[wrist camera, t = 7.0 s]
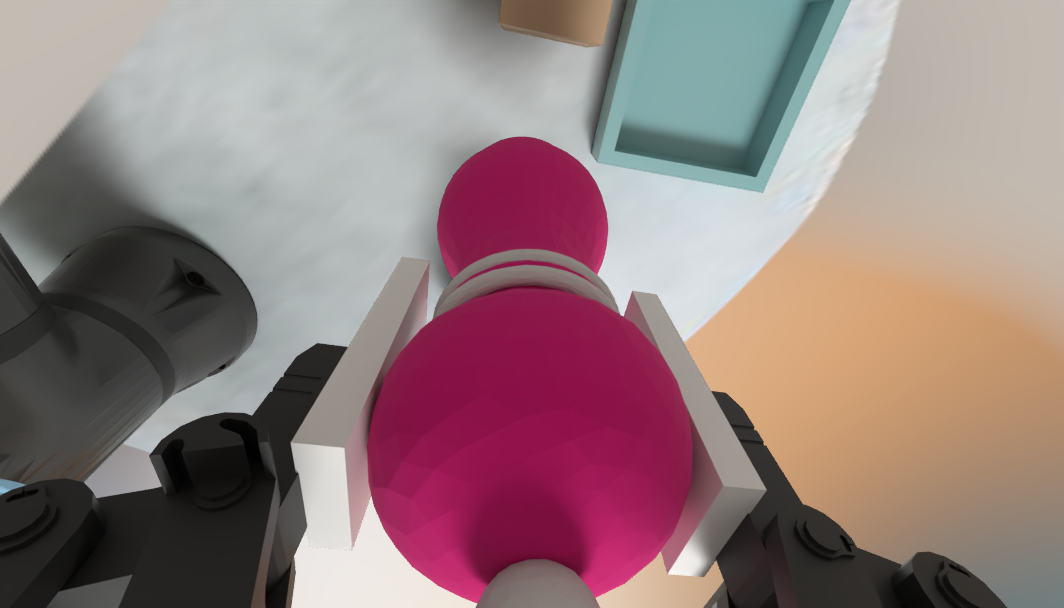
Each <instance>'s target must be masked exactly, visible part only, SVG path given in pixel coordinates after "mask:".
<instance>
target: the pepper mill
mask: <svg viewBox="0 0 1064 608" xmlns="http://www.w3.org/2000/svg"><path fill="white" fill-rule="evenodd" d="M437 233H438V242H439V246H440V250H441V254H442V257H443V260H444V263H445V265H446V267H447V270H448V272H449V273H450V275H451V277H452V278H453V280H452V281H451V282H450V283H449V284H448V286H447V287H446V288H445V289H444V291H443V293H442V294H441V296H440V298H439V300H438V302H437V305H436V307H435V311H434V316H433V319H432V321H431V322H429V323H428V324H427V325H425V326H424V327H423V328H421V329H420V330H419V332H418V333H417V334H416V335H415V336H414V337H413V338H412V339H411V340H410V342H409V343H408V344H407V345H406V346H405V347H404V348H403V349H402V351H401V352H400V353H399V354H398V356H397V358H396V359H395V361H394V363H393V364H392V366H391V368H390V369H389V371H388V373H387V374H386V376H385V379H384V381H383V384H382V387H381V390H380V393H379V396H378V398H377V401H376V404H375V407H374V410H373V414H372V420H371V425H370V431H369V436H368V442H367V461H368V483H369V487H370V491H371V496H372V500H373V504H374V507H375V509H376V512H377V514H378V516H379V518H380V521H381V523H382V526H383V528H384V530H385V532H386V533H387V534H388V536H389V537H390V539H391V540H392V542H393V543H394V545H395V547H396V548H397V549H398V550H399V551H400V553H401V554H402V555H403V556H404V557H405V558H406V560H407V561H408V562H409V563H410V564H411V566H412V567H414V568H415V569H416V570H418V571H419V572H420V573H422V574H423V575H424V576H426V577H427V578H428V579H430V580H431V581H433V582H434V583H435V584H437V585H438V586H440V587H442V588H444V589H446V590H448V591H450V592H452V593H454V594H456V595H458V596H460V597H462V598H465V599H468V600H470V601H472V602H475V603H478V604H477V606H476V608H600V607H599V605H598V603H597V601H596V599H595V598H596V597H598V596H600V595H602V594H604V593H606V592H608V591H610V590H612V589H614V588H616V587H618V586H620V585H622V584H625V583H626V582H627V581H628V580H630V579H631V578H632V577H633V576H634V575H636V574H637V573H638V572H639V571H640V570H642V569H643V568H644V567H645V566H646V565H648V564H649V563H650V562H651V561H652V560H654V559H655V557H656V556H657V555H658V553H659V552H660V551H661V550H662V548H663V547H664V545H665V544H666V543H667V541H668V540H669V539H670V537H671V536H672V535H673V533H674V531H675V528H676V526H677V524H678V521H679V519H680V517H681V514H682V511H683V508H684V505H685V502H686V499H687V496H688V493H689V490H690V487H691V483H692V454H693V442H692V436H691V429H690V422H689V415H688V412H687V409H686V406H685V403H684V400H683V397H682V394H681V391H680V388H679V385H678V382H677V380H676V378H675V376H674V374H673V373H672V371H671V369H670V367H669V366H668V364H667V362H666V361H665V359H664V357H663V356H662V354H661V353H660V352H659V351H658V349H657V348H656V347H655V346H654V345H653V344H652V343H651V342H650V340H649V339H648V338H647V337H646V336H645V335H644V334H643V333H642V332H641V330H640V329H639V328H638V327H637V326H636V325H635V324H634V323H633V322H631V321H630V320H628V319H626V318H625V317H623V316H621V315H620V313H619V310H618V307H617V304H616V302H615V299H614V297H613V295H612V293H611V292H610V290H609V288H608V287H607V285H606V284H605V283H604V282H603V281H602V280H601V279H600V278H599V276H598V275H597V274H598V272H599V269H600V267H601V265H602V262H603V259H604V255H605V250H606V246H607V236H608V222H607V213H606V209H605V206H604V202H603V199H602V195H601V193H600V190H599V188H598V186H597V184H596V182H595V180H594V179H593V177H592V176H591V174H590V173H589V171H588V170H587V169H586V168H585V167H584V166H583V165H582V164H581V163H580V162H579V161H578V160H576V159H575V158H574V157H572V156H571V155H570V154H568V153H567V152H565V151H563V150H561V149H559V148H557V147H555V146H553V145H551V144H550V143H547V142H545V141H543V140H540V139H536V138H531V137H512V138H507V139H504V140H500V141H498V142H496V143H494V144H492V145H491V146H489V147H487V148H485V149H484V150H482V151H480V152H478V153H477V154H475V155H473V156H472V157H471V158H470V159H468V160H467V161H466V162H465V163H464V164H463V165H462V166H461V167H460V168H459V169H458V170H457V172H456V173H455V174H454V175H453V177H452V179H451V180H450V182H449V184H448V185H447V187H446V190H445V193H444V195H443V198H442V201H441V205H440V209H439V216H438V223H437Z"/></svg>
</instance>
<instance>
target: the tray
mask: <svg viewBox="0 0 1064 608" xmlns="http://www.w3.org/2000/svg"><path fill="white" fill-rule="evenodd" d="M850 1H851V0H627V3H626V7H625V11H624V15H623V19H622V24H621V28H620V32H619V36H618V41H617V45H616V49H615V53H614V58H613V62H612V66H611V70H610V74H609V79H608V83H607V87H606V91H605V96H604V100H603V104H602V108H601V112H600V117H599V121H598V125H597V129H596V134H595V138H594V142H593V146H592V150H591V154H592V156H593V157H594V159H595V160H596V161H597V163H602V164H607V165H613V166H618V167H624V168H629V169H635V170H640V171H646V172H651V173H657V174H662V175H668V176H673V177H679V178H684V179H690V180H695V181H701V182H706V183H712V184H717V185H723V186H728V187H734V188H739V189H745V190H750V191H756V192H761V193H763V191H764V189H765V187H766V185H767V182H768V180H769V178H770V176H771V174H772V171H773V169H774V167H775V165H776V163H777V161H778V158H779V156H780V154H781V152H782V150H783V147H784V145H785V143H786V141H787V139H788V137H789V134H790V132H791V130H792V128H793V126H794V123H795V121H796V119H797V117H798V115H799V113H800V110H801V108H802V106H803V104H804V102H805V99H806V97H807V95H808V93H809V91H810V89H811V86H812V84H813V82H814V80H815V78H816V75H817V73H818V71H819V69H820V67H821V65H822V62H823V60H824V58H825V56H826V54H827V51H828V49H829V47H830V45H831V43H832V40H833V38H834V36H835V34H836V32H837V30H838V27H839V25H840V23H841V21H842V19H843V16H844V14H845V12H846V10H847V8H848V6H849V3H850Z"/></svg>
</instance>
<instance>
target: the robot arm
mask: <svg viewBox="0 0 1064 608" xmlns="http://www.w3.org/2000/svg"><path fill="white" fill-rule="evenodd" d="M429 262H430V261H427V260H421V259H414V258H407V257H402V258H401V260H400V262H399V263H398V265H397V267H396V268H395V270H394V272H393V273H392V275H391V277H390V278H389V280H388V282H387V283H386V285H385V286H384V288H383V290H382V291H381V293H380V295H379V296H378V298H377V300H376V301H375V303H374V305H373V306H372V308H371V310H370V311H369V313H368V315H367V316H366V318H365V320H364V321H363V323H362V325H361V326H360V328H359V330H358V331H357V333H356V335H355V336H354V338H353V340H352V341H351V343H350V345H349V346H348V347H343V346H335V345H327V344H319V343H317V344H315V345H314V346H312V347H311V348H309V349H308V350H306V351H305V352H303V353H301V354H300V355H298V356H297V357H296V358H295V360H294V361H293V362H292V363H291V365H290V366H289V367H288V369H287V370H286V371H285V373H284V376H283V377H281V378H280V379H279V381H278V382H277V383H276V385H275V386H274V387H273V391H272V392H270V393H269V394H268V395H267V397H266V398H265V399H264V401H263V402H262V403H261V405H260V406H259V407H258V409H257V410H256V411H255V413H254V414H253V415H252V416H251V415H248V414H245V413H227V412H224V413H219V414H214V415H210V416H205V417H201V418H199V419H197V420H194V421H192V422H190V423H187V424H185V425H183V426H180V427H179V428H178V429H176V430H175V431H173V432H172V433H171V434H169V435H168V436H166V437H165V438H164V439H162V440H161V441H160V443H159V444H158V445H157V446H156V448H155V449H154V450H153V452H152V453H151V454H150V455H149V457H150V459H151V462H152V464H153V466H154V468H155V471H156V473H157V475H158V478H159V480H160V483H161V485H162V487H158V488H155V489H148V490H143V491H137V492H131V493H125V494H119V495H113V496H107V497H101V498H96V497H95V495H94V493H93V492H92V491H91V489H90V488H89V487H88V486H87V485H86V484H85V483H84V481H85V480H86V479H87V478H88V477H89V476H90V475H91V474H92V473H93V472H94V471H95V470H96V469H97V468H98V467H99V466H100V465H101V464H102V463H104V461H106V460H107V459H108V458H109V457H110V456H111V455H112V454H113V453H114V452H115V451H116V450H117V449H118V448H119V447H120V446H121V445H122V444H123V443H124V442H125V441H126V440H127V439H128V438H129V437H130V436H131V435H132V434H133V433H134V432H135V431H136V430H137V429H138V428H139V427H140V426H141V425H142V424H143V423H144V422H145V421H146V420H147V419H148V418H149V417H150V416H151V415H152V414H153V413H154V412H155V411H156V410H157V409H158V408H159V407H160V406H161V405H162V404H163V403H164V402H166V401H167V400H168V399H169V398H170V397H171V396H172V395H174V394H176V393H178V392H181V391H183V390H185V389H187V388H189V387H191V386H193V385H195V384H197V383H198V382H200V381H202V380H204V379H205V378H207V377H209V376H212V375H215V374H217V373H219V372H221V371H223V370H225V369H226V368H228V367H229V366H231V365H232V364H233V363H234V362H235V361H236V360H237V359H238V358H239V357H240V356H241V355H242V354H243V353H244V352H245V351H246V350H247V349H248V348H249V347H250V345H251V344H252V342H253V340H254V337H255V335H256V330H257V315H256V310H255V307H254V304H253V301H252V299H251V297H250V295H249V293H248V291H247V289H246V288H245V286H244V285H243V283H242V282H241V281H240V279H239V278H238V277H237V276H236V275H235V273H234V272H233V271H232V270H231V269H230V268H229V267H228V266H227V265H226V264H224V263H223V262H222V261H221V260H220V259H219V258H217V257H216V256H215V255H213V254H212V253H210V252H209V251H207V250H206V249H204V248H203V247H201V246H199V245H197V244H196V243H194V242H192V241H190V240H188V239H186V238H183V237H181V236H178V235H175V234H173V233H170V232H166V231H162V230H158V229H153V228H146V227H124V228H118V229H114V230H111V231H108V232H106V233H103V234H101V235H98V236H96V237H94V238H91V239H89V240H87V241H85V242H83V243H81V244H80V245H78V246H77V247H75V248H74V249H73V250H71V251H70V252H69V254H68V255H67V256H66V257H65V259H64V260H63V261H62V263H61V264H60V266H58V267H57V268H56V269H55V270H54V271H53V272H52V273H51V274H50V275H49V276H48V277H47V278H46V279H45V280H44V281H43V282H42V283H41V284H40V285H39V286H38V287H37V285H36V284H35V283H34V281H33V280H32V278H31V277H30V275H29V274H28V272H27V271H26V269H25V268H24V266H23V265H22V264H21V262H20V261H19V259H18V258H17V256H16V255H15V253H14V252H13V250H12V249H11V247H10V246H9V245H8V243H7V242H6V240H5V239H4V237H3V236H2V234H1V233H0V608H291V604H292V597H293V589H294V581H295V574H296V571H295V561H294V555H295V553H296V550H297V548H298V546H299V544H300V542H301V539H302V537H303V535H304V533H305V531H306V536H307V542H308V547H315V548H328V549H342V550H352V549H353V546H354V543H355V541H356V538H357V535H358V532H359V529H360V526H361V523H362V520H363V517H364V514H365V512H366V509H367V506H368V503H369V500H370V497H371V491H370V487H369V483H368V461H367V442H368V436H369V431H370V425H371V420H372V414H373V410H374V407H375V404H376V401H377V398H378V396H379V393H380V390H381V387H382V384H383V381H384V379H385V376H386V374H387V373H388V371H389V369H390V368H391V366H392V364H393V363H394V361H395V359H396V358H397V356H398V354H399V353H400V352H401V351H402V349H403V348H404V347H405V346H406V345H407V344H408V343H409V342H410V340H411V339H412V338H413V337H414V336H415V335H416V334H417V333H418V332H419V330H420V329H421V328H423V327H424V326H425V325H426V316H427V298H428V280H429ZM624 317H625V318H626V319H628V320H630V321H631V322H633V323H634V324H635V325H636V326H637V327H638V328H639V329H640V330H641V332H642V333H643V334H644V335H645V336H646V337H647V338H648V339H649V340H650V342H651V343H652V344H653V345H654V346H655V347H656V348H657V349H658V351H659V352H660V353H661V354H662V356H663V357H664V359H665V361H666V362H667V364H668V366H669V367H670V369H671V371H672V373H673V374H674V376H675V378H676V380H677V382H678V385H679V388H680V391H681V394H682V397H683V400H684V403H685V406H686V409H687V412H688V415H689V422H690V429H691V436H692V442H693V454H692V483H691V487H690V490H689V493H688V496H687V499H686V502H685V505H684V508H683V511H682V514H681V517H680V519H679V521H678V524H677V526H676V528H675V531H674V533H673V535H672V536H671V537H670V539H669V540H668V541H667V543H666V544H665V545H664V547H663V548H662V550H661V553H662V556H663V559H664V563H665V567H666V571H667V574H673V575H686V576H700V577H704V576H705V575H706V573H707V572H708V571H709V569H710V568H711V566H712V565H713V564H714V562H715V561H717V563H718V566H719V569H720V571H721V574H722V576H723V579H724V582H723V583H722V585H721V586H720V587H719V588H718V590H717V591H716V592H715V593H714V595H713V596H712V597H711V599H710V600H709V601H708V603H707V604H706V605H705V606H704V608H1007V607H1006V606H1005V605H1004V603H1003V602H1002V601H1001V600H1000V599H999V598H998V597H997V596H996V595H995V594H994V593H993V592H992V591H991V590H990V589H989V588H988V587H987V586H986V584H985V583H984V582H982V581H981V580H979V579H978V578H977V577H976V576H974V575H973V574H972V573H971V572H969V571H968V570H967V569H965V568H964V567H963V566H961V565H959V564H957V563H955V562H954V561H952V560H950V559H948V558H946V557H944V556H941V555H938V554H935V553H931V552H918V553H916V554H915V555H914V556H913V557H912V558H910V559H909V560H908V561H907V562H906V563H904V564H903V565H901V564H898V563H896V562H893V561H891V560H888V559H885V558H883V557H880V556H878V555H875V554H872V553H870V552H867V551H864V550H862V549H859V548H857V547H856V545H855V543H854V542H853V540H852V538H850V536H849V535H848V534H847V533H846V532H845V531H844V530H843V529H842V528H841V527H840V526H839V525H838V524H837V523H836V522H834V521H833V520H832V519H830V518H829V517H828V516H826V515H825V514H824V513H822V512H820V511H818V510H816V509H814V508H812V507H810V506H807V505H803V504H802V502H801V501H800V499H799V497H798V496H797V494H796V493H795V491H794V489H793V488H792V486H791V485H790V483H789V482H788V480H787V478H786V477H785V475H784V473H783V472H782V470H781V469H780V468H779V466H778V464H777V462H776V461H775V459H774V457H773V456H772V454H771V453H770V451H769V450H768V448H767V446H764V444H763V440H762V438H761V437H760V435H759V433H758V432H757V431H756V430H754V426H753V424H752V422H751V421H750V419H749V418H748V416H747V414H746V413H745V411H744V410H743V408H741V407H740V406H739V405H738V404H737V403H736V402H735V401H734V400H733V399H732V398H731V397H730V396H729V395H728V394H726V393H723V392H714V391H711V390H710V388H709V387H708V385H707V383H706V381H705V380H704V378H703V376H702V374H701V373H700V371H699V369H698V367H697V365H696V364H695V362H694V360H693V358H692V357H691V355H690V353H689V351H688V350H687V348H686V346H685V344H684V342H683V341H682V339H681V337H680V335H679V333H678V332H677V330H676V328H675V326H674V325H673V323H672V321H671V319H670V317H669V316H668V314H667V312H666V310H665V309H664V307H663V305H662V303H661V301H660V300H659V298H658V296H657V295H656V294H649V293H643V292H636V291H632V294H631V297H630V300H629V303H628V305H627V308H626V311H625V314H624Z"/></svg>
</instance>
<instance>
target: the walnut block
mask: <svg viewBox="0 0 1064 608" xmlns="http://www.w3.org/2000/svg"><path fill="white" fill-rule="evenodd" d="M612 3H613V0H501V8H500V17H499V24H500V25H501V26H502V28H503V29H504V30H508V31H512V32H517V33H522V34H527V35H531V36H536V37H541V38H545V39H550V40H555V41H560V42H564V43H569V44H574V45H578V46H583V47H593V46H600V45H603V43H604V38H605V34H606V29H607V25H608V21H609V16H610V12H611V7H612Z"/></svg>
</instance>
